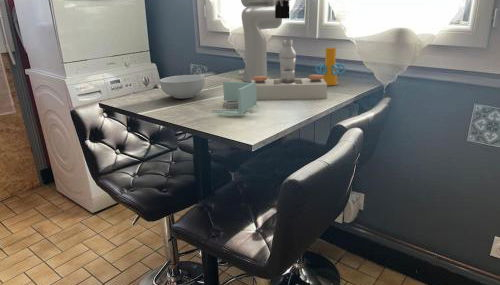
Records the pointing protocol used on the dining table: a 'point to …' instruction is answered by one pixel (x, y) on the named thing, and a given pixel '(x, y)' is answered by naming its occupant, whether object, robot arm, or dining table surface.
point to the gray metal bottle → (287, 63)
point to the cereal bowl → (182, 85)
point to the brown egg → (315, 78)
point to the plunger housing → (291, 89)
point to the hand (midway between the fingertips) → (282, 18)
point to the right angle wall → (238, 96)
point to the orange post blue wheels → (330, 67)
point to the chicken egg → (260, 79)
